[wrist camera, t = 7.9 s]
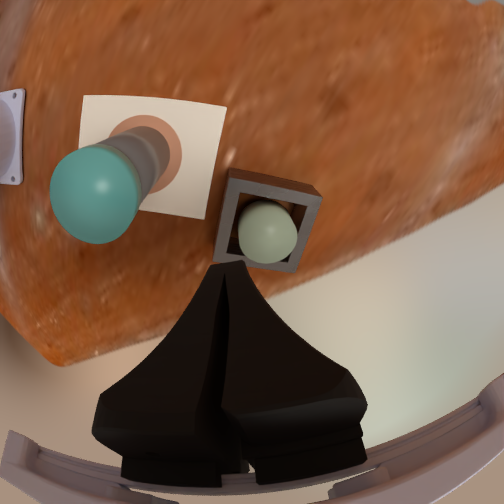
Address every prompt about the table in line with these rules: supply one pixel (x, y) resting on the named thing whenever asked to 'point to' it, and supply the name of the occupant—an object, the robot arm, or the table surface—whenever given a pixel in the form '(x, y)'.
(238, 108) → the table surface
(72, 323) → the table surface
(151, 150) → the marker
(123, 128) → the paper
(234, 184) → the button base
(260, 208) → the button
